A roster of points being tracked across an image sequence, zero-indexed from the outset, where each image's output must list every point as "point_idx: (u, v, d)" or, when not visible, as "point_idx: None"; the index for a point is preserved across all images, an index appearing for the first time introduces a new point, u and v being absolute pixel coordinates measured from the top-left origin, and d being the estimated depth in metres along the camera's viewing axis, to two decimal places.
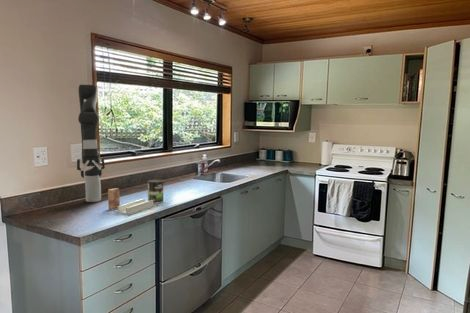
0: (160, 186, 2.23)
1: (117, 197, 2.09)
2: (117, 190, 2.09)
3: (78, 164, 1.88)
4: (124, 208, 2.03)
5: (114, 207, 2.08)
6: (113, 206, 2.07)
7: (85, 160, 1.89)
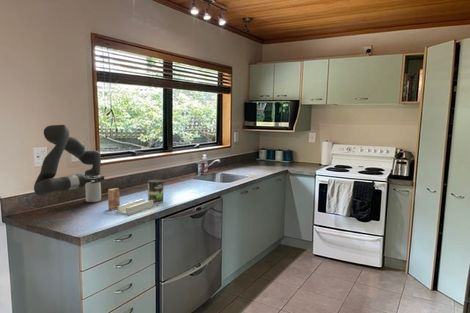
0: (160, 186, 2.23)
1: (117, 197, 2.09)
2: (117, 190, 2.09)
3: None
4: (124, 208, 2.03)
5: (114, 207, 2.08)
6: (113, 206, 2.07)
7: None
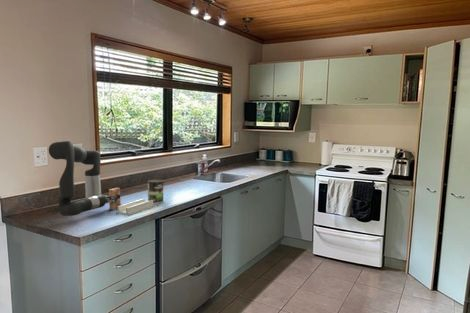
0: (160, 186, 2.23)
1: None
2: (118, 190, 2.10)
3: None
4: (124, 208, 2.03)
5: (115, 207, 2.08)
6: (114, 205, 2.08)
7: None
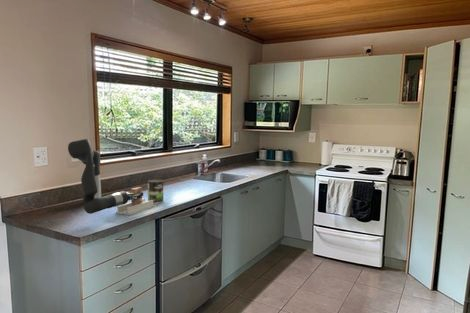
0: (160, 186, 2.23)
1: None
2: (140, 189, 2.08)
3: None
4: (124, 208, 2.03)
5: None
6: None
7: None
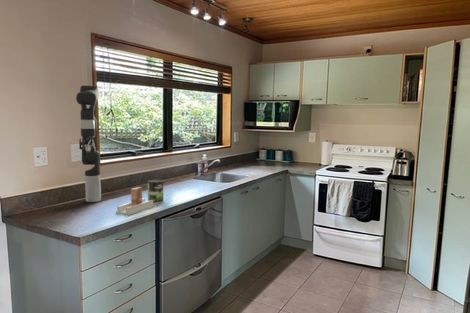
0: (160, 186, 2.23)
1: (140, 196, 2.08)
2: (140, 189, 2.08)
3: (84, 144, 1.91)
4: (124, 208, 2.03)
5: None
6: None
7: (87, 139, 1.94)
